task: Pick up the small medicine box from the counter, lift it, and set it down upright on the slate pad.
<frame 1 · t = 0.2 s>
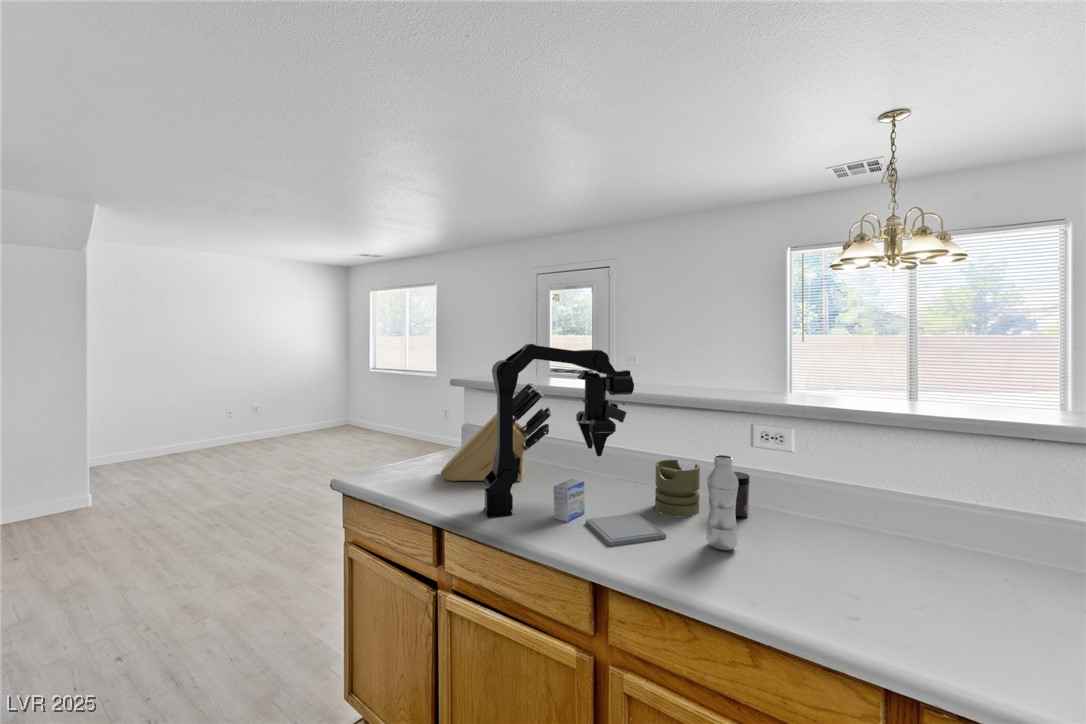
hand: (594, 452, 138), 14 cm above the worktop, tool pointing down, fingers open, 9 cm apart
piston: (676, 510, 134), on the worktop
knife block: (497, 477, 164), on the worktop
medicine box: (569, 517, 129), on the worktop
plastic bottle: (721, 548, 109), on the worktop
supplement container: (734, 515, 130), on the worktop
slate pad: (624, 530, 119), on the worktop
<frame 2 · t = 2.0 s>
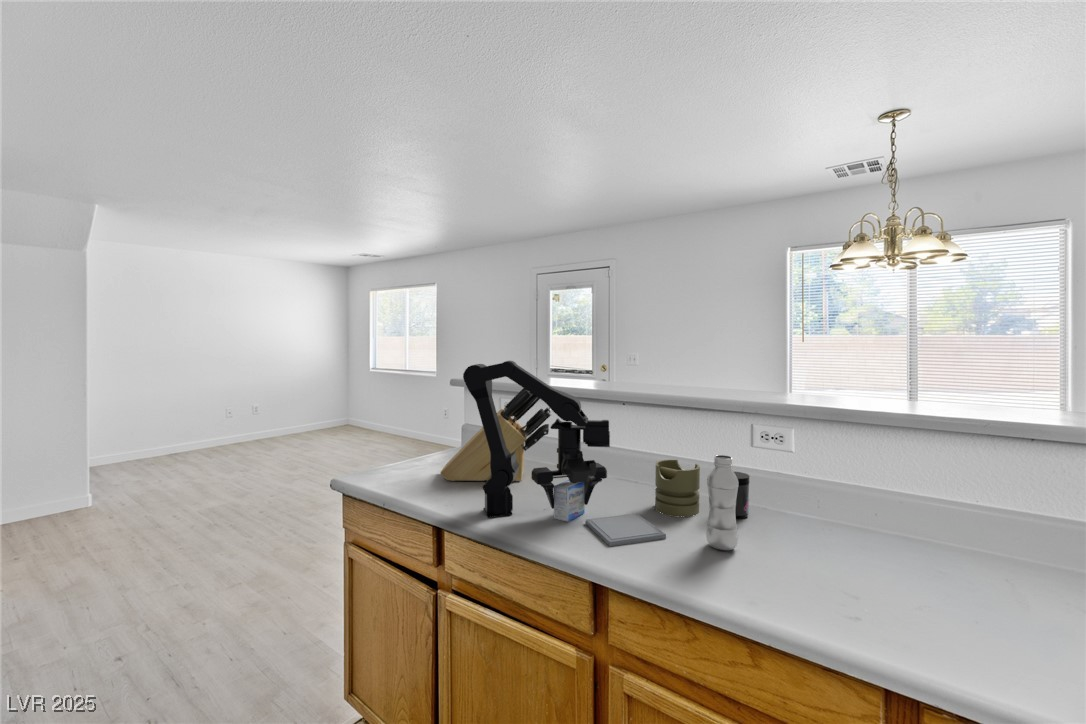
hand: (569, 506, 129), 3 cm above the worktop, tool pointing down, fingers closed on medicine box, 9 cm apart
medicine box: (569, 516, 129), on the worktop, touching gripper
everything else where it was.
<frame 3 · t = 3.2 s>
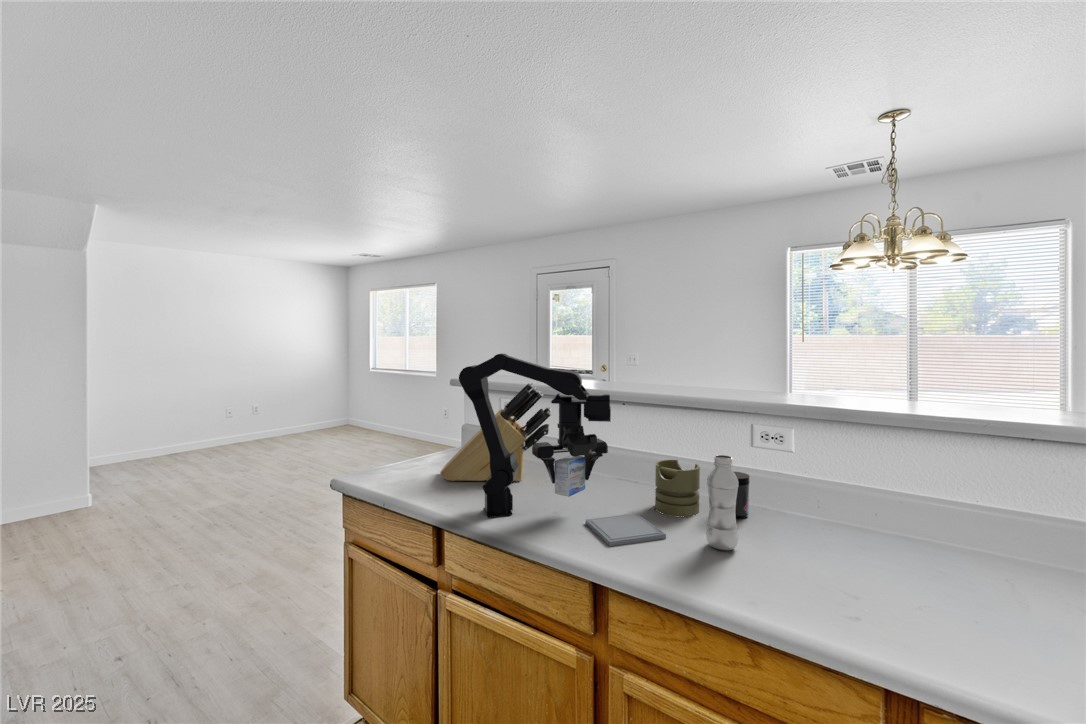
hand: (570, 481, 128), 9 cm above the worktop, tool pointing down, fingers closed on medicine box, 9 cm apart
medicine box: (570, 492, 128), point 6 cm above the worktop, touching gripper
everything else where it was.
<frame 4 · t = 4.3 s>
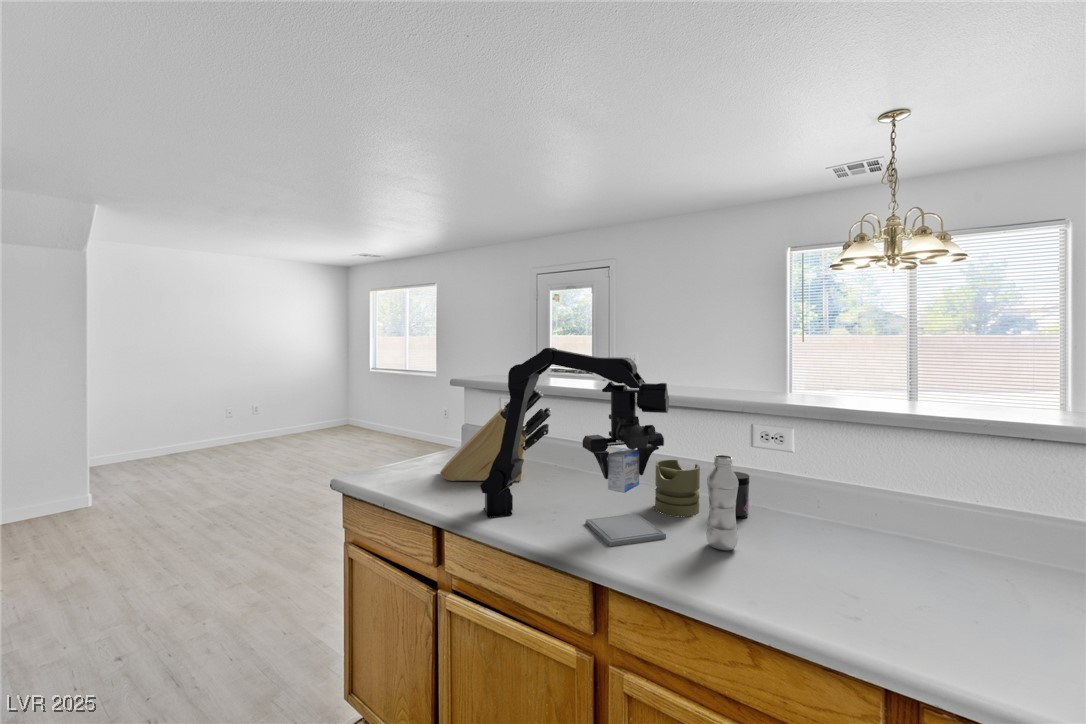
hand: (623, 476, 119), 13 cm above the worktop, tool pointing down, fingers closed on medicine box, 9 cm apart
medicine box: (623, 488, 119), point 10 cm above the worktop, touching gripper
everything else where it was.
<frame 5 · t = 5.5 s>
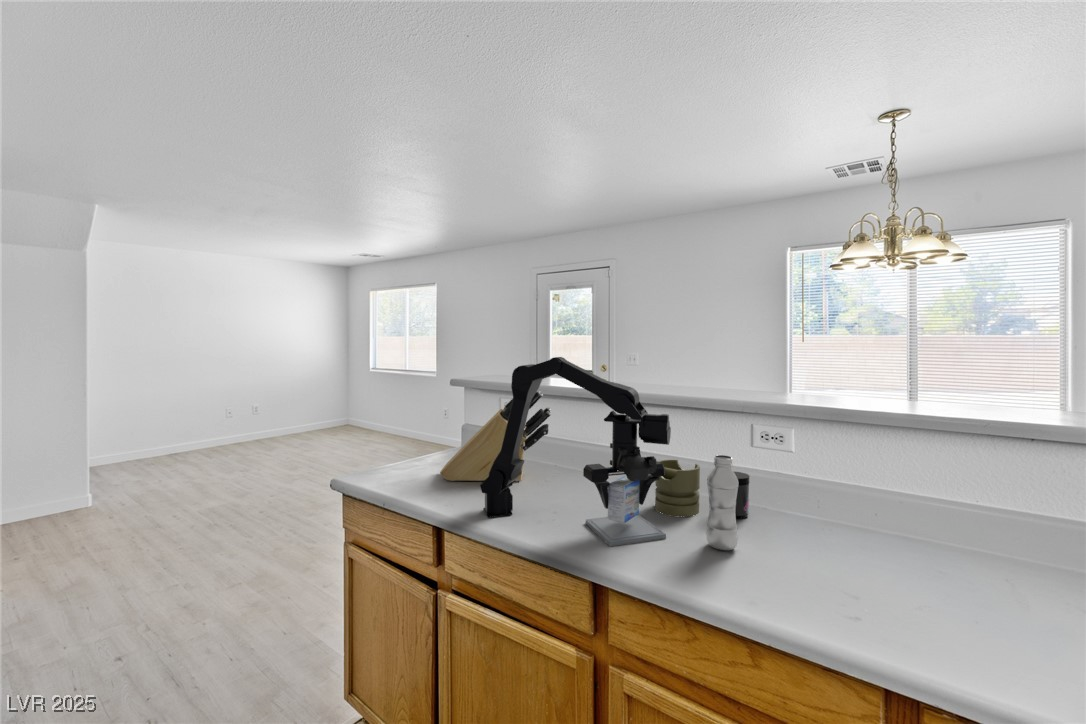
hand: (623, 506, 119), 6 cm above the worktop, tool pointing down, fingers closed on medicine box, 9 cm apart
medicine box: (623, 517, 119), point 3 cm above the worktop, touching gripper
everything else where it was.
when the fingers open (5 cm above the worktop, at t = 6.4 s): medicine box drops 1 cm, resting on slate pad.
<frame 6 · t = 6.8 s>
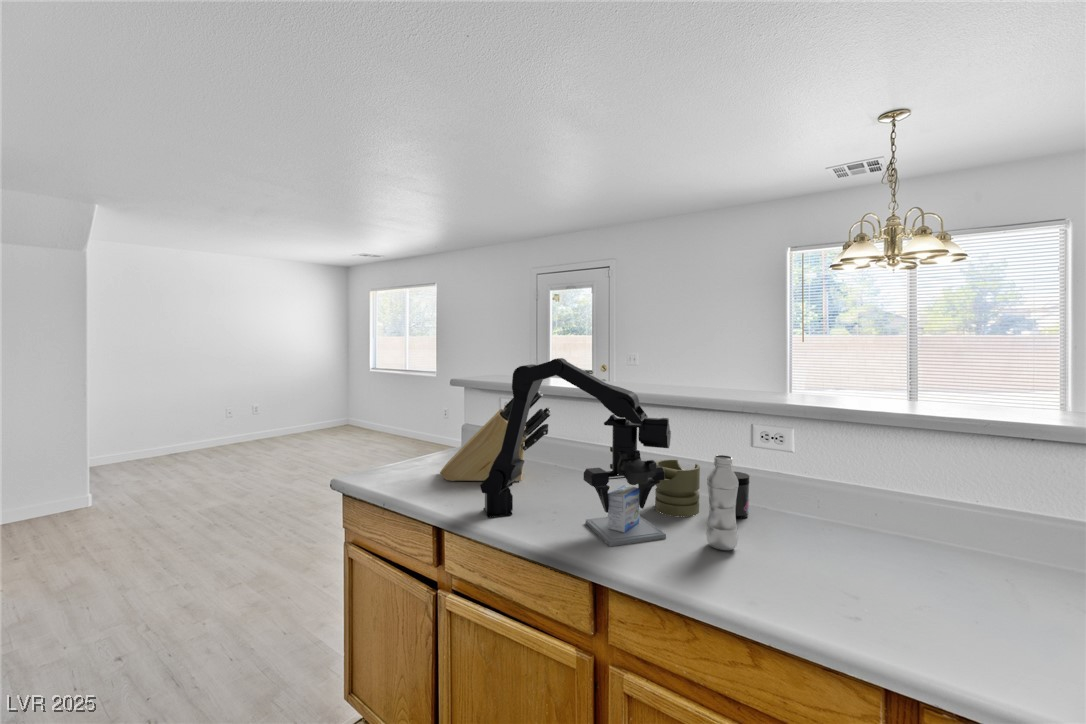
hand: (624, 510, 119), 5 cm above the worktop, tool pointing down, fingers open, 9 cm apart
medicine box: (623, 526, 119), point 1 cm above the worktop, touching slate pad
everything else where it was.
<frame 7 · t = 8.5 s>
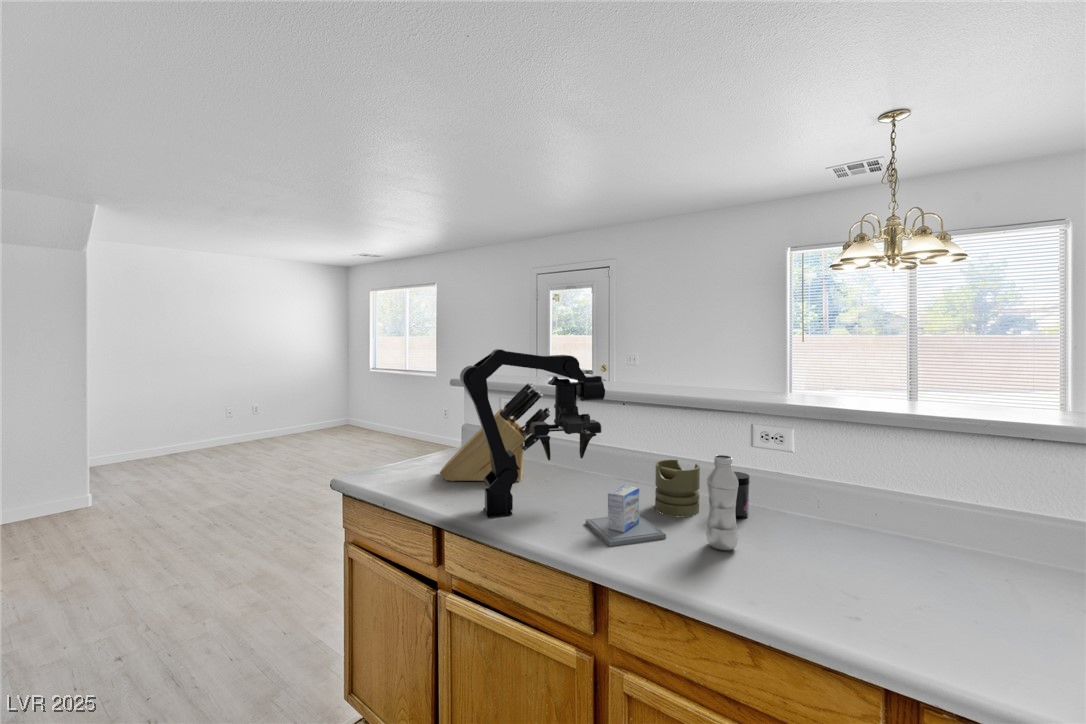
hand: (565, 459, 136), 13 cm above the worktop, tool pointing down, fingers open, 9 cm apart
nothing on the worktop moved.
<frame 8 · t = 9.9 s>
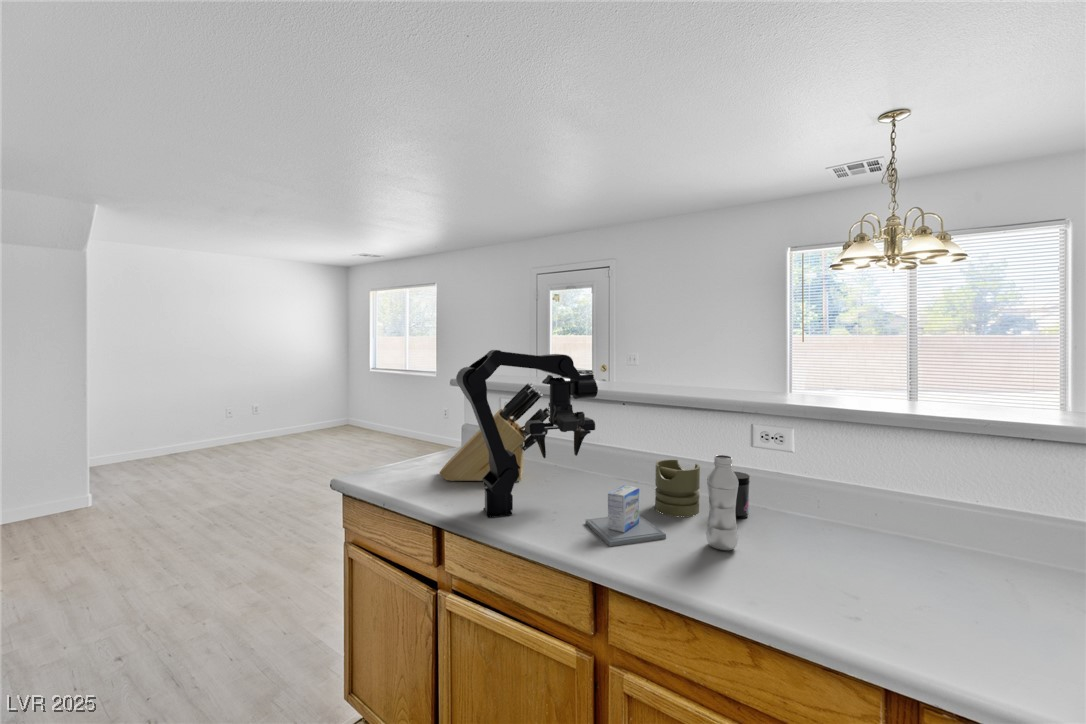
hand: (560, 456, 138), 13 cm above the worktop, tool pointing down, fingers open, 9 cm apart
nothing on the worktop moved.
at the end: medicine box inside the target area on the slate pad (0.1 cm from its centre), point 0.9 cm above the slate pad's base; medicine box tilted 0°; the gripper is holding nothing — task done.
